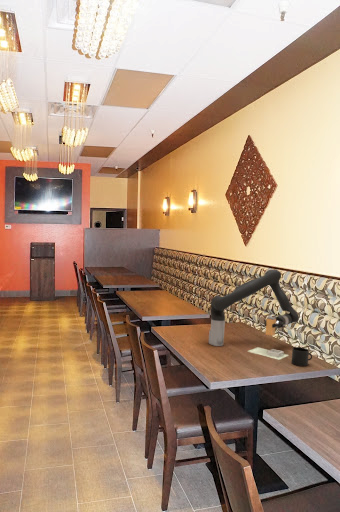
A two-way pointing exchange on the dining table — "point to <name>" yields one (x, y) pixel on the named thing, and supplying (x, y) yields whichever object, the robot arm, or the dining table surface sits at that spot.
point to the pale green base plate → (269, 353)
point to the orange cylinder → (270, 326)
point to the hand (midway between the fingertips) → (269, 325)
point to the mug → (300, 356)
